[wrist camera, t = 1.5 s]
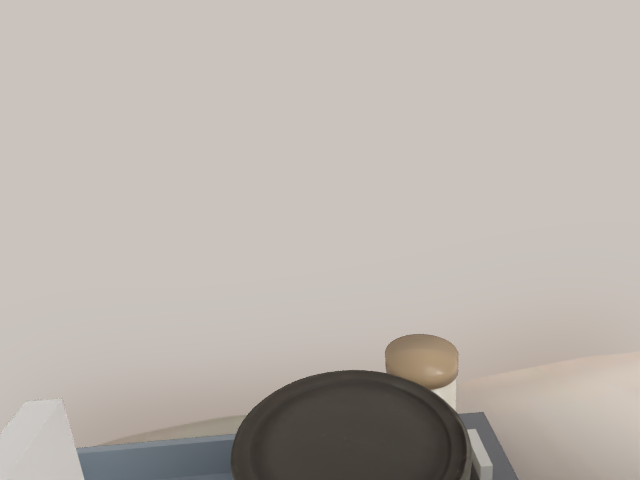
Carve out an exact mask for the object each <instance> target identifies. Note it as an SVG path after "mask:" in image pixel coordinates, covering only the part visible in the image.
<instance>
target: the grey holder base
mask: <svg viewBox="0 0 640 480" xmlns="http://www.w3.org/2000/svg"><path fill="white" fill-rule="evenodd" d="M458 415H459V417H460V418H461V420H462V421H463V423H464V425H465V427H466V429H467V431H468V434H469V438H470V442H471V448H472V466H471V475H470V480H518V478H517V476H516V474H515V472H514V470H513V468H512V466H511V464H510V462H509V460H508V458H507V456H506V455H505V453H504V451H503V449H502V447H501V445H500V443H499V441H498V439H497V437H496V435H495V433H494V431H493V429H492V428H491V426H490V424H489V422H488V420H487V418H486V416H485V414H484V412H479V413H467V414H458Z"/></svg>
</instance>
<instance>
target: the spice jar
mask: <svg viewBox="0 0 640 480" xmlns="http://www.w3.org/2000/svg"><path fill="white" fill-rule="evenodd" d="M385 358H386V372H387V374H391V375H395V376H398V377H402V378H404V379H407V380H410V381H413V382H415V383H418V384H420V385H422V386H424V387H426V388H427V389H429V390H431V391H432V392H434V393H436V394H437V395H438V396H440V397H441V398H442V399H444V400H445V401H446V402H447V403H448V404H449V405H450V406H451V407H452V408H453V409H454V410H455V411H456V377H457V375H458V351H457V349H456V347H455V346H454V345H453V344H452V343H450V342H449V341H447V340H445V339H443V338H440V337H437V336H433V335H425V334H413V335H407V336H403V337H400V338H397V339H395V340H394V341H392V342H391V343H390V344H389V345H388V346H387V348H386V351H385Z"/></svg>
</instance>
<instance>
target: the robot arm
mask: <svg viewBox="0 0 640 480" xmlns="http://www.w3.org/2000/svg"><path fill="white" fill-rule="evenodd" d="M0 480H84V476H83V472H82V469H81V465H80V461H79V458H78V454H77V450H76V447H75V443H74V440H73V436H72V432H71V428H70V425H69V421H68V417H67V414H66V410H65V407H64V403H63V399H62V398H61V399H47V400H33V401H26V402H25V403H24V404H23V406H22V407H21V408H20V409H19V411H18V412H17V413H16V414H15V416H14V417H13V418H12V419H11V421H10V422H9V423H8V424H7V426H6V427H5V428H4V429H3V431H2V432H1V433H0Z"/></svg>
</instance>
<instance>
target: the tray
mask: <svg viewBox="0 0 640 480" xmlns="http://www.w3.org/2000/svg"><path fill="white" fill-rule="evenodd" d="M235 436H236V434H229V435H218V436H207V437H195V438H184V439H173V440H162V441H151V442H140V443H129V444H118V445H106V446H95V447H84V448H76V450H77V454H78V458H79V461H80V465H81V469H82V472H83V476H84V480H233V476H232V470H231V463H230V462H231V450H232V446H233V442H234V439H235Z"/></svg>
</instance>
